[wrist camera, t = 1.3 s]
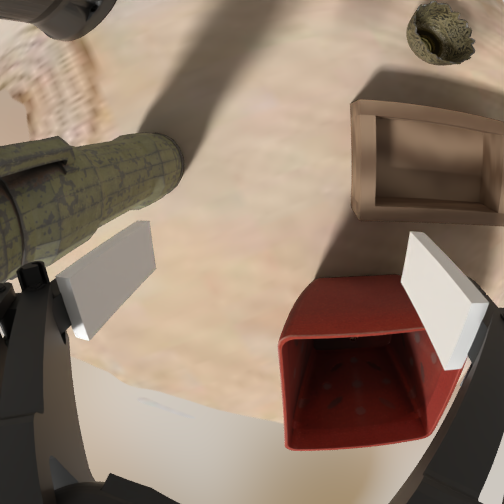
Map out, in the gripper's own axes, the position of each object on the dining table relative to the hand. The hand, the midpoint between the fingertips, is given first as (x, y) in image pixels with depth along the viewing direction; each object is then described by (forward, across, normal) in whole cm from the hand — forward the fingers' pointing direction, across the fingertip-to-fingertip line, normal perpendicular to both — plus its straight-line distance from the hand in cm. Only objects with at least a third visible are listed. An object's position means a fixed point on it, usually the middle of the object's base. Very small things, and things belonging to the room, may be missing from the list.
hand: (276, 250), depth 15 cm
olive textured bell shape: (+23, +16, +18) cm, 34 cm away
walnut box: (+23, +17, +4) cm, 29 cm away
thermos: (+23, -18, +2) cm, 30 cm away
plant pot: (+24, +10, -19) cm, 32 cm away
